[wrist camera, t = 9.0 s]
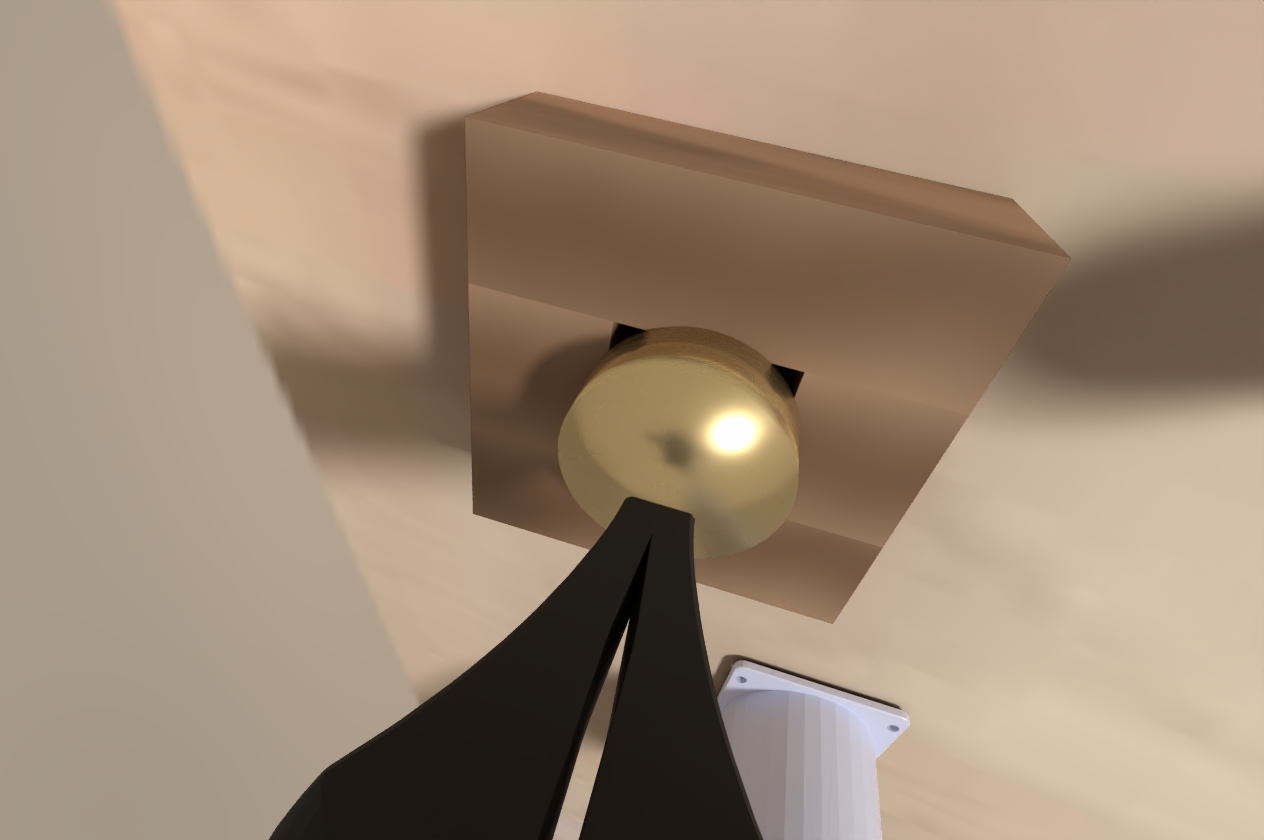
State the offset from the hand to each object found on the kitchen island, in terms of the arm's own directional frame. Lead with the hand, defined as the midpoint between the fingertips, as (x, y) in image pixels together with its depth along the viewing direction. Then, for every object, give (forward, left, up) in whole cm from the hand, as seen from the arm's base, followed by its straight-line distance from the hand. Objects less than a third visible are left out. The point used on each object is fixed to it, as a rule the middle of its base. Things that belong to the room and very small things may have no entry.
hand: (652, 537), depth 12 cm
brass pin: (0, 0, -8) cm, 8 cm away
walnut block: (0, 0, -8) cm, 8 cm away
